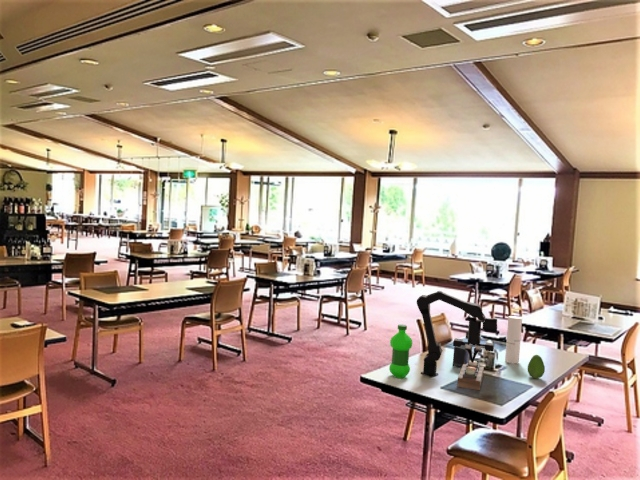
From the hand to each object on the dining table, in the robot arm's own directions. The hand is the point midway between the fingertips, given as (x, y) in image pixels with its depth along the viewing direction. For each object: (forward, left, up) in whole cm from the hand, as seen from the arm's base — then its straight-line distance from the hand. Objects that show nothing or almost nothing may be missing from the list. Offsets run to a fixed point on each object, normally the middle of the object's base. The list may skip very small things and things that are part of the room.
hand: (472, 362), depth 251 cm
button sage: (-7, -4, -4) cm, 9 cm away
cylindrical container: (+50, +6, -9) cm, 51 cm away
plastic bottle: (-26, +23, -9) cm, 36 cm away
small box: (+18, +17, -9) cm, 26 cm away
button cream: (+7, +4, -3) cm, 9 cm away
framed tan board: (0, 0, -9) cm, 9 cm away
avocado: (+32, -16, -9) cm, 37 cm away
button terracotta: (0, 0, -5) cm, 5 cm away
